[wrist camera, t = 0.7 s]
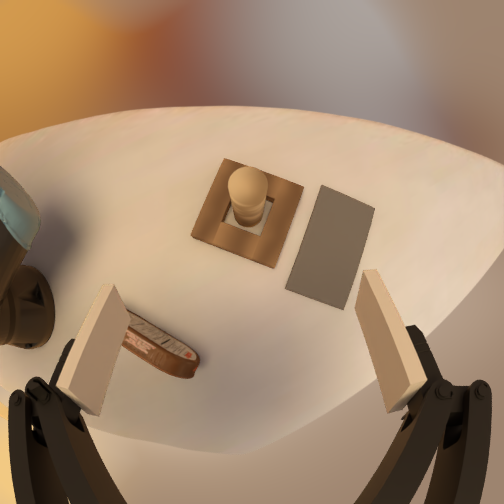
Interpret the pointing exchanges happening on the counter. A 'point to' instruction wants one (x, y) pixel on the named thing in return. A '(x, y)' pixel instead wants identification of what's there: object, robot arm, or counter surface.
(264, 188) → the peg
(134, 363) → the counter surface
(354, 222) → the mat
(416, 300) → the counter surface
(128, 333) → the tin
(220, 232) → the slot block
